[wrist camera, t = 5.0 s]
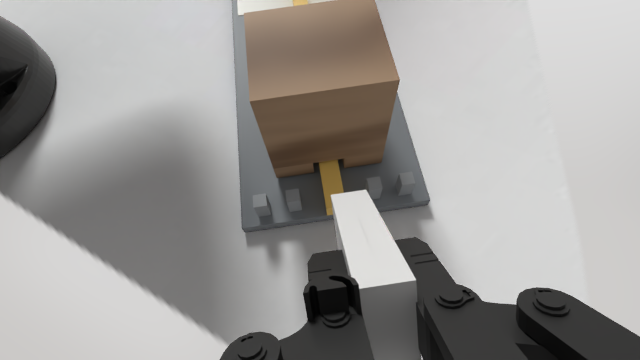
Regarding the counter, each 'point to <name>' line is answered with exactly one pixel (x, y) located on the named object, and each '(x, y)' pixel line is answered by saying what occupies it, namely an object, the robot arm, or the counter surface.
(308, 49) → the cardboard box
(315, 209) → the sliding block track
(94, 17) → the counter surface
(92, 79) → the counter surface
